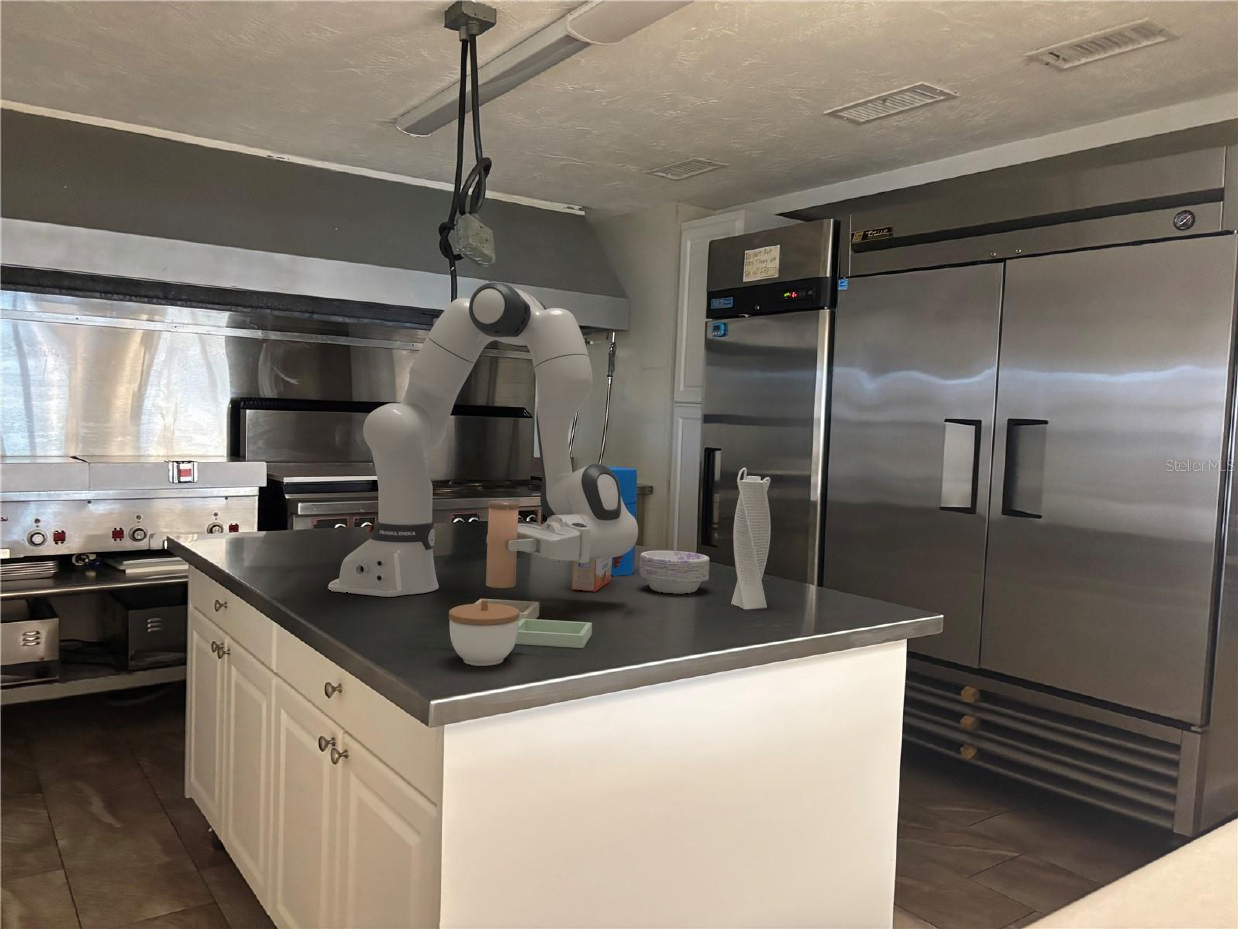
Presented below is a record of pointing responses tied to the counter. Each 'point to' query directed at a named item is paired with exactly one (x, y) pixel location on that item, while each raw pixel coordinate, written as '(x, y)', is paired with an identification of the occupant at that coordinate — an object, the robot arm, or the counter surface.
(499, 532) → the terracotta canister
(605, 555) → the robot arm
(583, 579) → the cracker box
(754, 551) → the skyscraper
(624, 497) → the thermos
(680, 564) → the paper bowls
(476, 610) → the lidded jar
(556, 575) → the counter surface
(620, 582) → the counter surface
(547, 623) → the sage tray
